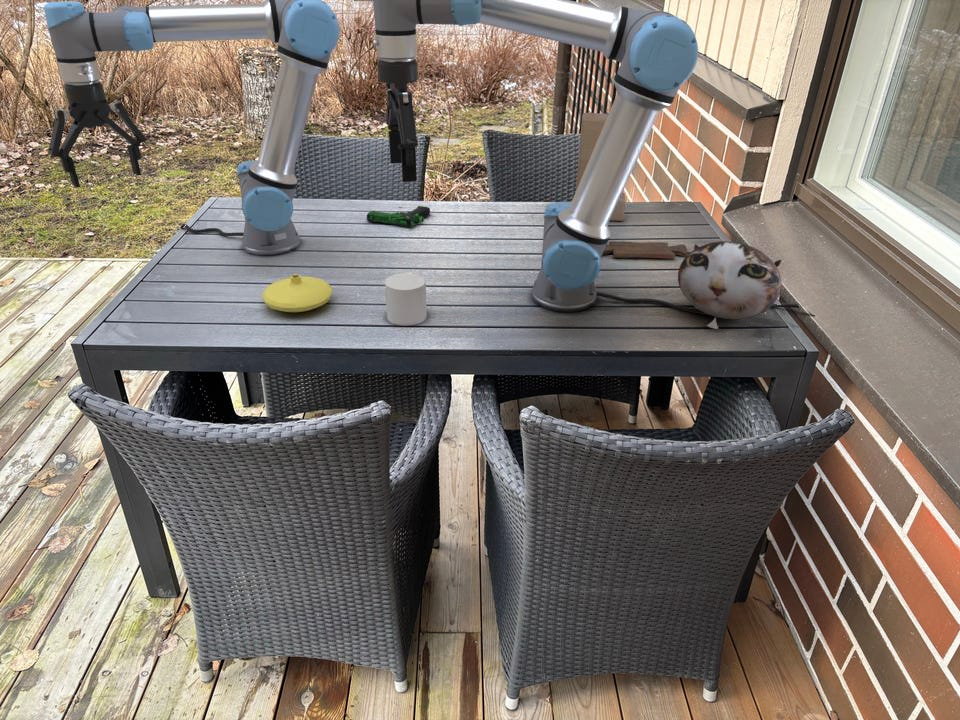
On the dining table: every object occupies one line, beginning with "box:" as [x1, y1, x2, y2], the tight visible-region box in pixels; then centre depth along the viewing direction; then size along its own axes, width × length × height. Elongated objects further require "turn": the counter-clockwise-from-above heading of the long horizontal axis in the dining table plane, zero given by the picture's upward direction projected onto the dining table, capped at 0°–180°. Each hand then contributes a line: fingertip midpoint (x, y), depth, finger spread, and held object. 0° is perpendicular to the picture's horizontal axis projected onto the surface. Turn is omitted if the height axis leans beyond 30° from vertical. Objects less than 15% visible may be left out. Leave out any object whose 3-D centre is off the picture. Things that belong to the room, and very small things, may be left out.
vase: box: [261, 273, 333, 313], centre depth 164 cm, size 16×16×7 cm
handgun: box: [366, 205, 431, 229], centre depth 216 cm, size 16×3×15 cm
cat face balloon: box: [677, 240, 783, 330], centre depth 159 cm, size 22×18×20 cm
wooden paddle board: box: [602, 240, 688, 259], centre depth 196 cm, size 26×2×10 cm
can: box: [384, 272, 428, 327], centre depth 159 cm, size 9×9×9 cm
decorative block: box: [575, 112, 626, 222], centre depth 213 cm, size 8×15×30 cm, turn 82°
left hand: (107, 180), depth 164 cm, fingers open, 13 cm apart
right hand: (403, 171), depth 145 cm, fingers open, 13 cm apart
